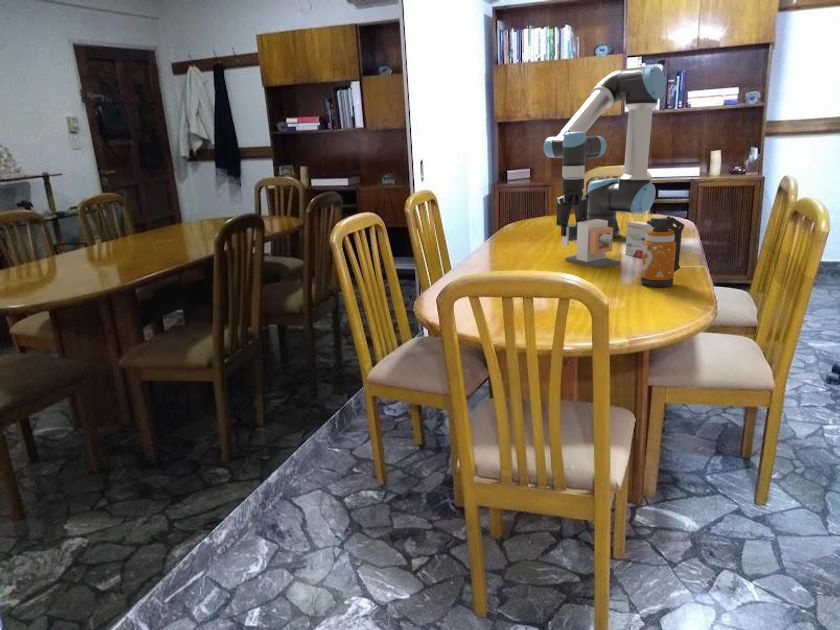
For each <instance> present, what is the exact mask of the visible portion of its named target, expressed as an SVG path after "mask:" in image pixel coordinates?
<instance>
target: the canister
mask: <svg viewBox="0 0 840 630" xmlns="http://www.w3.org/2000/svg"><path fill="white" fill-rule="evenodd" d="M646 223H647V224H650V225H651V227H654V229H652V230H648V231H647V233H646V239H645V241H644V242H643V254H642V258H641V273H640V276H641V277H640V282H641V284H643V285H644V284H645V286H648V287H651V288H653V287H654V288H665V287H668V286H671V285H673V283H674V276H675V272H676V271H678V270H680V269H681V266H680V255H681V254H680V253H681V244H682V232H683V230H684V228H685V227H686V225H685V224H684V223H682V222H681V221H679V220H678V219H677V218H674V217H673V216H672V217H671V216H670V215H668V216H666V217H659V218H655V217H651V218H650V220H646ZM674 225H675V226H674Z"/></svg>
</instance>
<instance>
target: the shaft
mask: <svg viewBox="0 0 840 630" xmlns="http://www.w3.org/2000/svg"><path fill="white" fill-rule="evenodd" d="M567 227H569V242H574V240H577V227H578V224H576V223H568V226H567ZM560 236H561V235H560ZM560 239H561V240H562V236H561V238H560ZM613 240H614V238H613V236H612V235H610V234H600V235H599V242H603V243H608V244H610V243H611V242H612V243H613Z"/></svg>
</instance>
